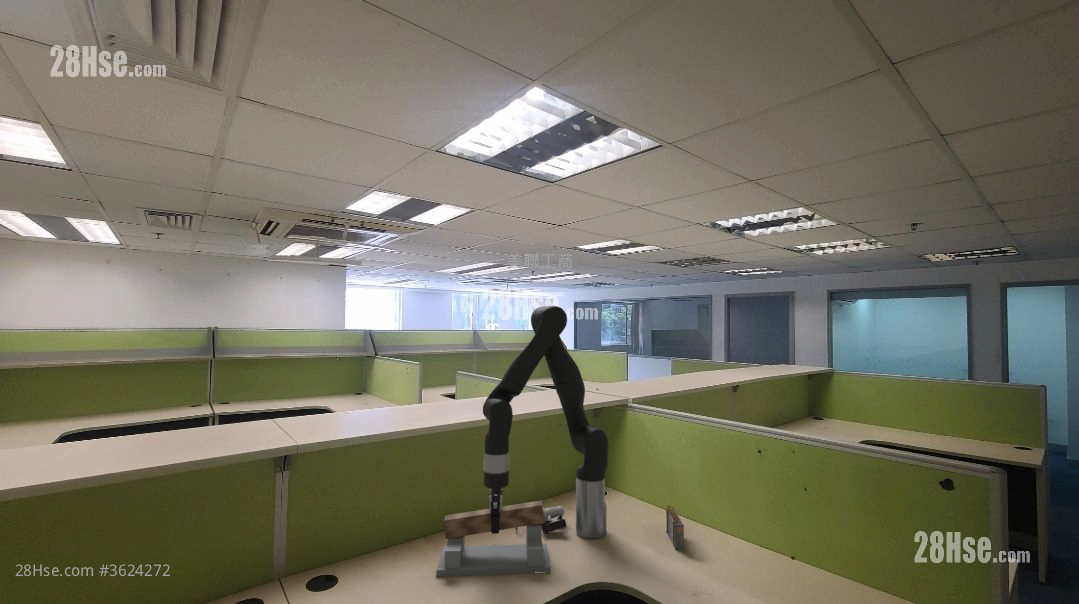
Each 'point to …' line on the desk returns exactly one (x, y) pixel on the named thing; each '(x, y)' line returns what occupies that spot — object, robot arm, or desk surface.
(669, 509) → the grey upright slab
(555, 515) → the clip-on lamp
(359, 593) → the desk surface
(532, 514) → the wooden plank
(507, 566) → the notch rack
